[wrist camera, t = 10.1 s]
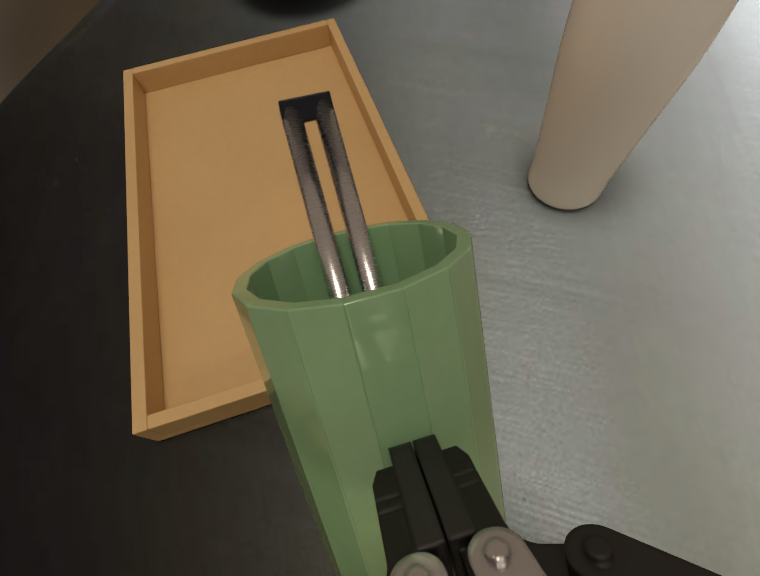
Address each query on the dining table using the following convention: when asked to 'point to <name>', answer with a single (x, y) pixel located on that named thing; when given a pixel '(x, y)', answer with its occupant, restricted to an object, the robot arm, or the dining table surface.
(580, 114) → the drinking glass
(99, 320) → the dining table surface
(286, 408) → the green cup
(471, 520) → the robot arm
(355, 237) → the tongs
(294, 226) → the tray
